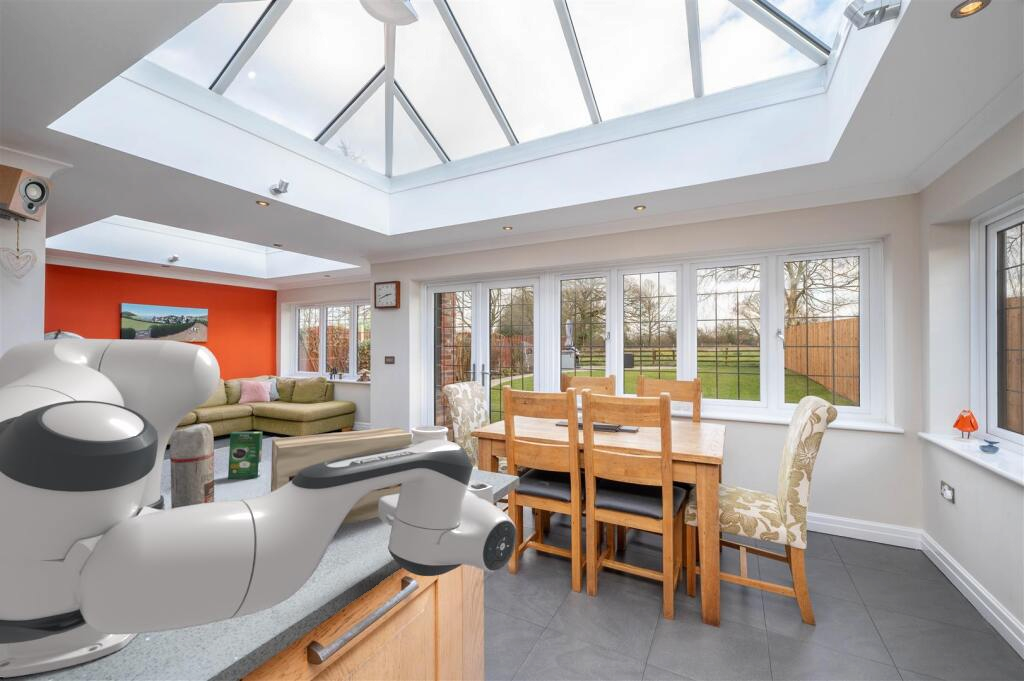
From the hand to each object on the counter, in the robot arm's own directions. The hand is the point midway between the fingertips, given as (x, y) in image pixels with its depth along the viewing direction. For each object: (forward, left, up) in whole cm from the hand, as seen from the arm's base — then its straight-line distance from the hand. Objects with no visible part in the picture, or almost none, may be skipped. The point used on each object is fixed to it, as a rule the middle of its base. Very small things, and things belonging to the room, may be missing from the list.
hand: (419, 489), depth 87 cm
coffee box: (+57, +41, -10) cm, 71 cm away
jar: (+39, -9, -10) cm, 41 cm away
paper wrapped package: (+30, +46, -10) cm, 56 cm away
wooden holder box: (+18, +14, -10) cm, 25 cm away
